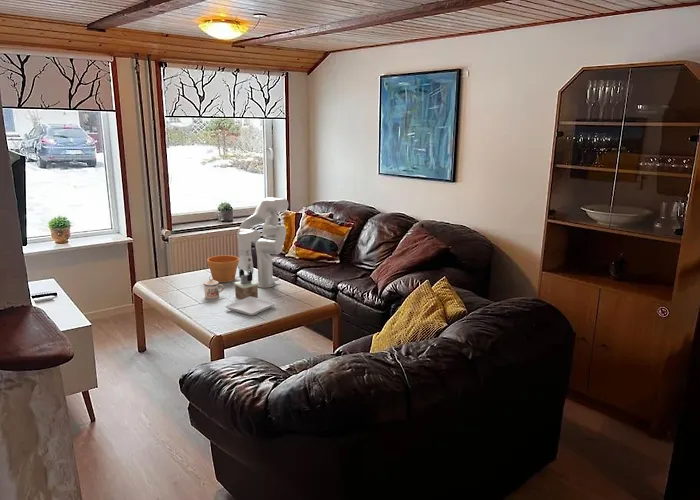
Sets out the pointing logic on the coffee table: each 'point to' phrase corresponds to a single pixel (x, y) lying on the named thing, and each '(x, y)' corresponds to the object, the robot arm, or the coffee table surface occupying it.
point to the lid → (245, 282)
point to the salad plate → (250, 305)
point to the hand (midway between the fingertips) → (245, 279)
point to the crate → (246, 292)
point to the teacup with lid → (212, 289)
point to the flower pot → (223, 267)
